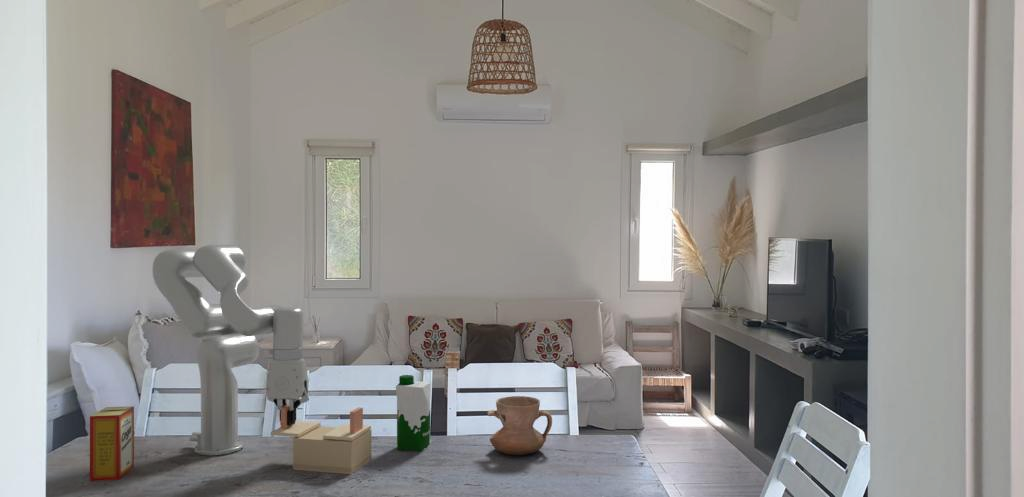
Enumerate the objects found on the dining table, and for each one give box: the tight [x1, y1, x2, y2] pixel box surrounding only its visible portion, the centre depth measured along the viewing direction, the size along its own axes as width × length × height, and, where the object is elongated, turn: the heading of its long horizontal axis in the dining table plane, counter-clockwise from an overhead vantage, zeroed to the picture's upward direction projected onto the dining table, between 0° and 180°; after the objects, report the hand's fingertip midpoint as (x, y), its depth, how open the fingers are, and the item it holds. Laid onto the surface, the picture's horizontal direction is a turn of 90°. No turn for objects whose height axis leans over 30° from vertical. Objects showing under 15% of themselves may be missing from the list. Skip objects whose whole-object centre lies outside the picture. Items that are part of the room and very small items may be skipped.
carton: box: [292, 425, 373, 475], centre depth 179 cm, size 16×12×8 cm
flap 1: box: [270, 404, 322, 438], centre depth 182 cm, size 8×12×6 cm
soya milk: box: [395, 374, 432, 452], centre depth 195 cm, size 9×9×20 cm
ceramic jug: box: [487, 395, 553, 456], centre depth 191 cm, size 18×14×14 cm
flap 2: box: [323, 407, 372, 441], centre depth 178 cm, size 8×12×6 cm
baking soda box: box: [89, 406, 135, 482], centre depth 171 cm, size 10×6×16 cm
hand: (287, 423), depth 182 cm, fingers closed
